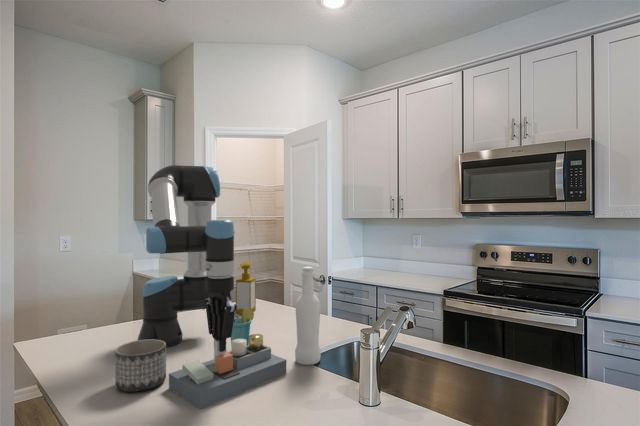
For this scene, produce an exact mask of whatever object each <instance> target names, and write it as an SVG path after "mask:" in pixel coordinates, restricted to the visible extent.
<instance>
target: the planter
mask: <svg viewBox="0 0 640 426" xmlns="http://www.w3.org/2000/svg"><path fill="white" fill-rule="evenodd" d="M114 354H115V355H114V357H115V360H114V361H115V363H114V365H115V368H114V369H115V373H114V374H115V377H114V378H115V383H114V384H115V388H116V389H118V390H119V391H124V392H139V391H145V390H149V389H152V388H155V387H157V386H159V385H161V384H162V383H164V382H165V380H166V378H167V347H166V343H165V342H164V341H162V340H156V339H146V340H138V339H137V340H133V341H129V342H126V343H124V344H121V345H119V346H118V347H117V348H116V349H115V353H114Z"/></svg>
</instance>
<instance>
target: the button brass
mask: <svg viewBox="0 0 640 426" xmlns="http://www.w3.org/2000/svg"><path fill="white" fill-rule="evenodd" d="M263 345H264V334H261V333H253V334H249V345H248V346H249V349H250V350H261V349H262V348H263Z"/></svg>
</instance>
